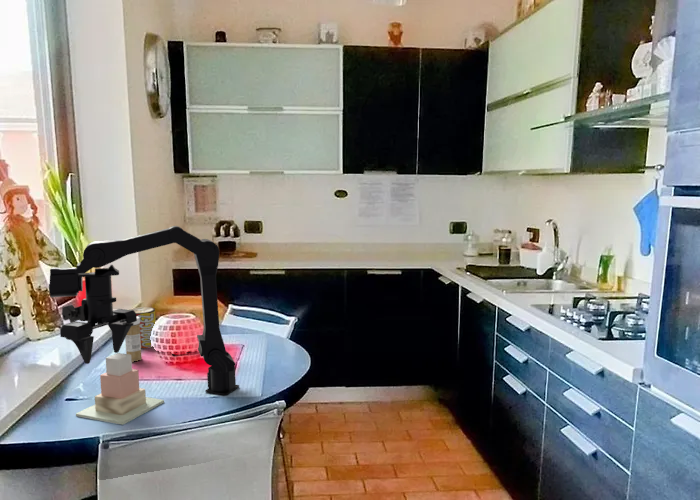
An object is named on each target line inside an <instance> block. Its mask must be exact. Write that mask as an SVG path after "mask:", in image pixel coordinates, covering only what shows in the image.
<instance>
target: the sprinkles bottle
mask: <svg viewBox="0 0 700 500" xmlns="http://www.w3.org/2000/svg"><path fill="white" fill-rule="evenodd" d="M132 323H133V326H131V328H130V329H129V331H128V333H127V335H126V337H125V339H124V341H125V352H126V353H125V354H129V355H131V360H132V363H135V362H134V361H137V362H139V361H138V360H140V361H141V360H142V358H143V357H142V349H141V339H140V318H139V317H138V316H137V321H135V322H132Z"/></svg>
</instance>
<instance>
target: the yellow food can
mask: <svg viewBox="0 0 700 500" xmlns="http://www.w3.org/2000/svg"><path fill="white" fill-rule="evenodd" d="M128 310H134V311H135V313H136V314H137V316H138V317H139V318H140V339H141V350H143V349H144V350H145V349H149V348H148V347H150V348H152V347H151V340H150V336H151V331H152V328H153V326H154V324H155V322H156V309H155V308H154V307H152V306H151V307H150V306H149V307H148V306H145V307H144V306H141V307H133V308H129V309H128Z"/></svg>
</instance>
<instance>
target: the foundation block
mask: <svg viewBox="0 0 700 500" xmlns="http://www.w3.org/2000/svg"><path fill="white" fill-rule="evenodd" d="M146 397H147V395H146V388H141V387H139V390H138V391H136V392H134V393H132V394H130V395H128V396H126V397H124V398H122V399H120V398H114V397H108V396H102V395H101V393H99V394H97V395H95V396H94V405H95V410H96V411H101V412H106V413H112V414H118V415H124V414H126V413H127V412H129V411H131V410H133V409H135V408H137V407H139V406H141V405H143V404H145V403H146Z"/></svg>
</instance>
